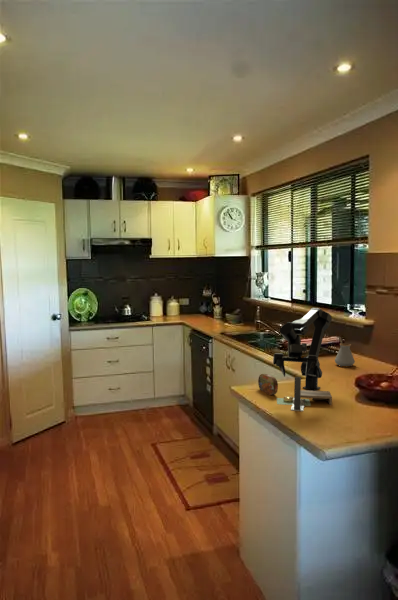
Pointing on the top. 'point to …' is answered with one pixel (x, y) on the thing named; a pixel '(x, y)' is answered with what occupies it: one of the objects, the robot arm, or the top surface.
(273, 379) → the tin
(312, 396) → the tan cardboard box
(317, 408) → the top surface
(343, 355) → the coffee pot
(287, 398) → the token
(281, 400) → the mat
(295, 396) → the grey l-shaped block
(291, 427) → the top surface
